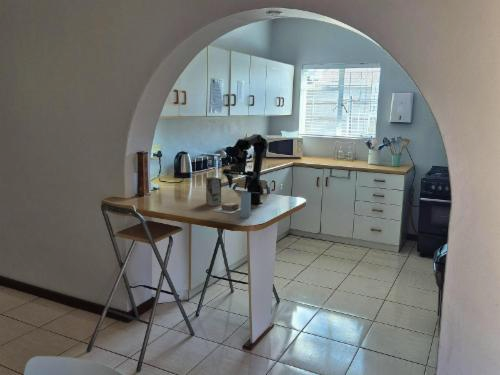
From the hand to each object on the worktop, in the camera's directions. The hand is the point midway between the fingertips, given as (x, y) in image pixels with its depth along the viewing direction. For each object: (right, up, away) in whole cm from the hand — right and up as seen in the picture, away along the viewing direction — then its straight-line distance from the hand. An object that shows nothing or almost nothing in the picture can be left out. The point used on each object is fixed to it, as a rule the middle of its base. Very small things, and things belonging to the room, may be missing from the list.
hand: (237, 188), depth 251 cm
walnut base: (-5, -12, +9) cm, 16 cm away
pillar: (+5, -15, -5) cm, 17 cm away
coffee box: (-15, -10, +24) cm, 30 cm away
